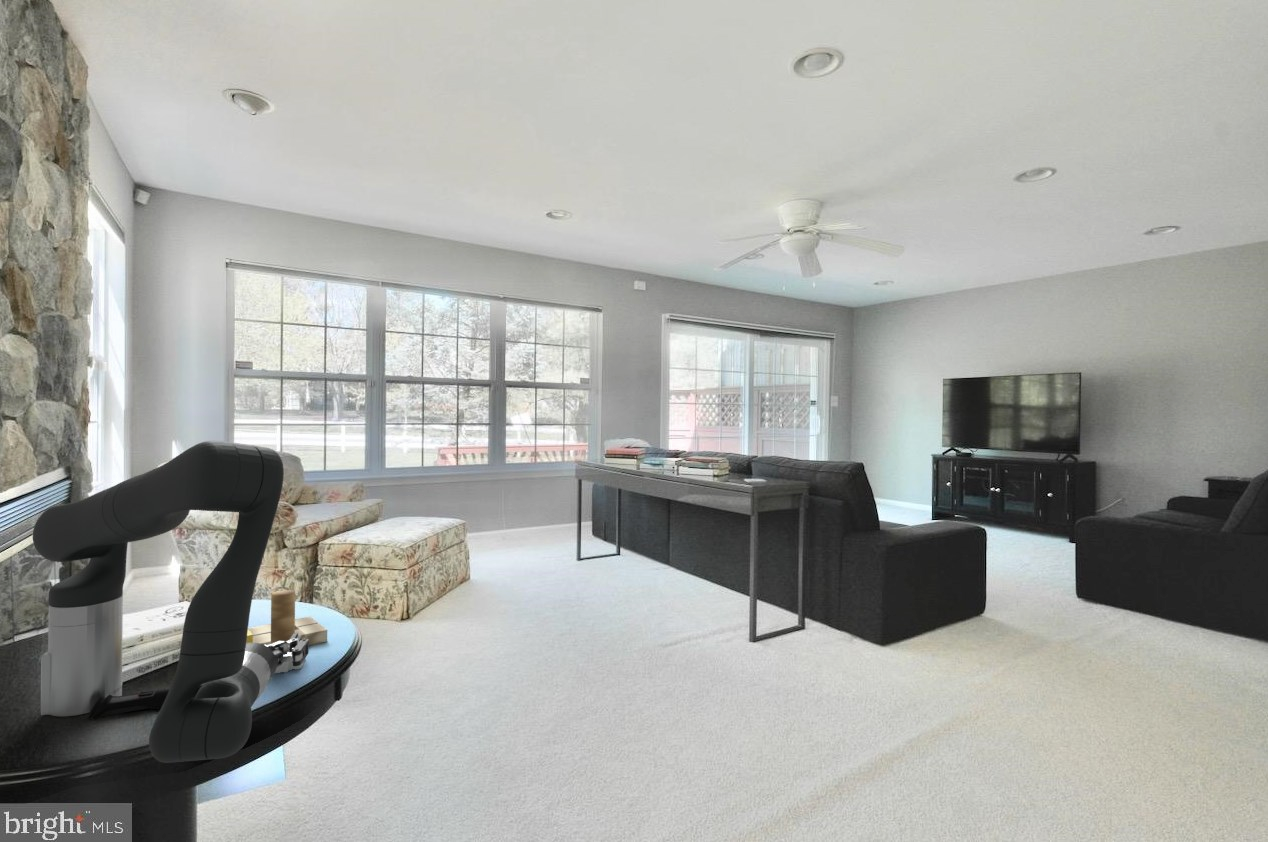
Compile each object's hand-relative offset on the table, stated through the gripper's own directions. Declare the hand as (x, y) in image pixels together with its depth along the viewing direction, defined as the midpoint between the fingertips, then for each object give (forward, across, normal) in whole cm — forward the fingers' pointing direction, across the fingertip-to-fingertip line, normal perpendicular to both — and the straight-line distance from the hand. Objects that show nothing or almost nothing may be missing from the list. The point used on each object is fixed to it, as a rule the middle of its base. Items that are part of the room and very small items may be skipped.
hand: (268, 640), depth 110 cm
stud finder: (+22, +11, +6) cm, 25 cm away
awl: (+11, 0, +8) cm, 14 cm away
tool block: (+11, 0, +8) cm, 14 cm away
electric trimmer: (-2, +17, +9) cm, 19 cm away
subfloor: (+24, +6, +8) cm, 26 cm away
